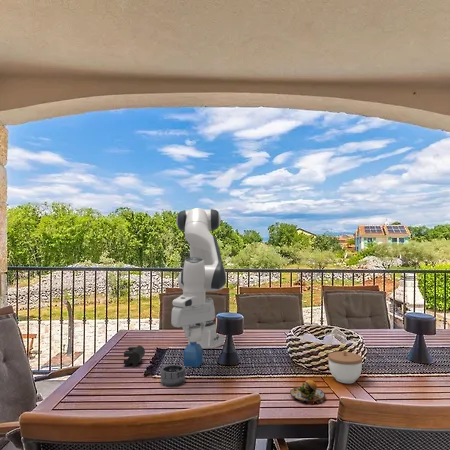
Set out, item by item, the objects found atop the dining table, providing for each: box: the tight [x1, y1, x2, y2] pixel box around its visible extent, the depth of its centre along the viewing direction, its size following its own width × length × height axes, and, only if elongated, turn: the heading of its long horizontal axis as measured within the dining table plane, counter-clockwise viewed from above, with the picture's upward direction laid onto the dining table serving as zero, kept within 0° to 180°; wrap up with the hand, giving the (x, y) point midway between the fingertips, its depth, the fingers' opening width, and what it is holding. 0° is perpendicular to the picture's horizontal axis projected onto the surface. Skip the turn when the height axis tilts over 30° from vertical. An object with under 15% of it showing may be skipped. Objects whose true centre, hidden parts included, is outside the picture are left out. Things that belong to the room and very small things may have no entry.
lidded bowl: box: [327, 350, 363, 384], centre depth 144 cm, size 13×13×11 cm
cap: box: [187, 325, 201, 342], centre depth 145 cm, size 5×5×5 cm
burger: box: [289, 376, 326, 406], centre depth 128 cm, size 12×12×8 cm
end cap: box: [123, 345, 146, 368], centre depth 165 cm, size 10×7×7 cm
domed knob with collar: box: [160, 364, 186, 388], centre depth 142 cm, size 9×9×5 cm
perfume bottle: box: [183, 342, 204, 368], centre depth 163 cm, size 6×6×12 cm
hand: (194, 335), depth 145 cm, fingers closed on cap, 5 cm apart
